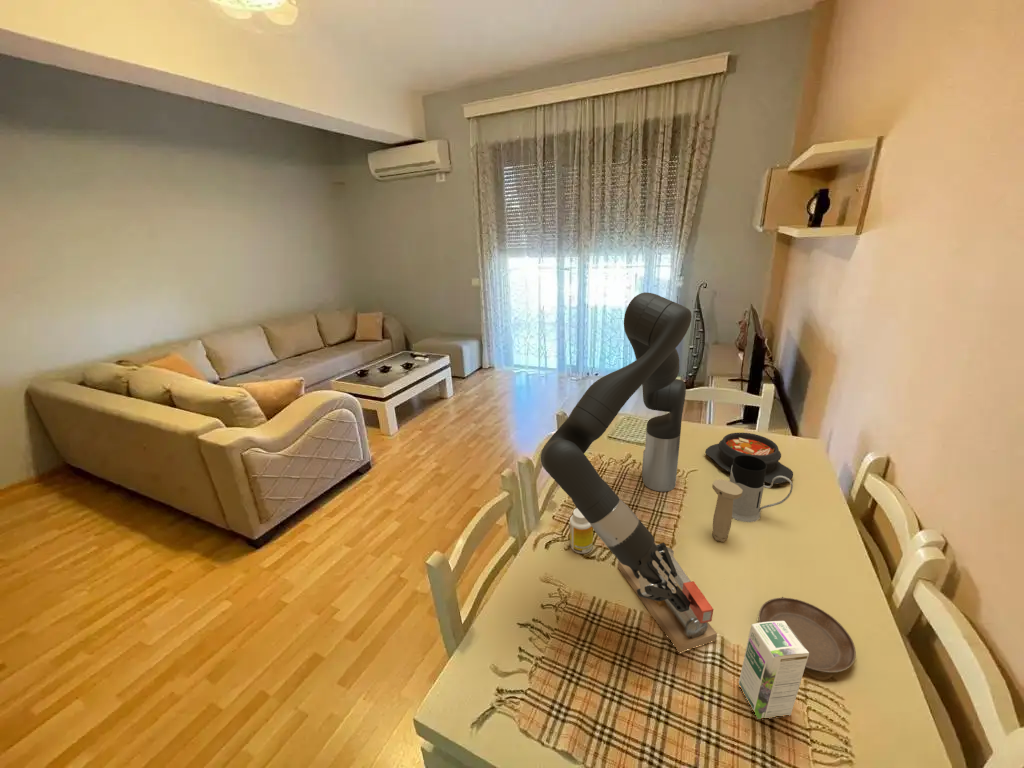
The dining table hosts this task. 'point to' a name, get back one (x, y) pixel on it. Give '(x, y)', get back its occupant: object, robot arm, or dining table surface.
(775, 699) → the syrup box
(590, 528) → the supplement bottle
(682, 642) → the oak base board
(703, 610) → the valve lever
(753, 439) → the casserole
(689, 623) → the brass ball valve
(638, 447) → the dining table surface
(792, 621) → the saucer
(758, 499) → the glass holder
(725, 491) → the handle
